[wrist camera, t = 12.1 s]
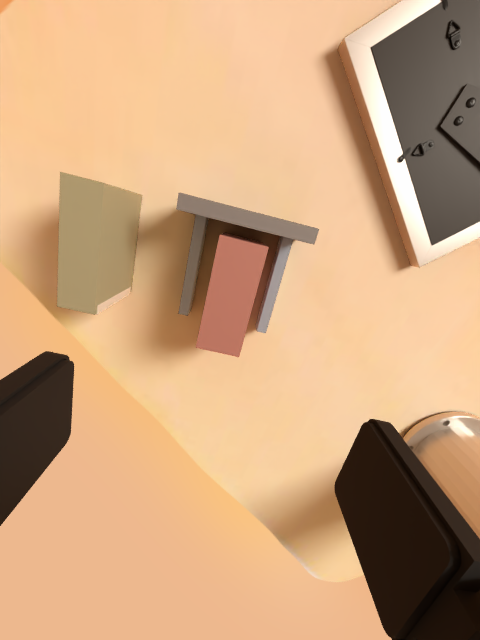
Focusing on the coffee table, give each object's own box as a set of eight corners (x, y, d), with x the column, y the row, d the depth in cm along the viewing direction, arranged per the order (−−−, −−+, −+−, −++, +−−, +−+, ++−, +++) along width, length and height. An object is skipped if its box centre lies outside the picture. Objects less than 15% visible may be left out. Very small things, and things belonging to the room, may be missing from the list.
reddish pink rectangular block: (261, 242, 28) (268, 247, 22) (239, 329, 32) (238, 357, 25) (223, 232, 28) (219, 234, 21) (204, 321, 31) (195, 347, 25)
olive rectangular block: (142, 195, 27) (104, 183, 19) (131, 293, 30) (95, 315, 22) (110, 187, 26) (59, 171, 19) (102, 286, 30) (56, 307, 22)
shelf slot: (300, 228, 28) (319, 228, 21) (270, 328, 31) (278, 355, 25) (193, 200, 27) (178, 192, 20) (175, 306, 30) (157, 329, 24)
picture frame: (560, 188, 27) (522, -69, 21) (595, 184, 25) (563, -111, 19) (407, 264, 30) (335, 53, 24) (424, 268, 27) (347, 31, 21)
